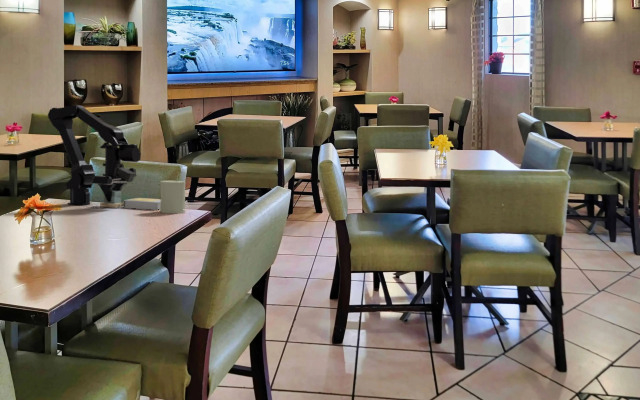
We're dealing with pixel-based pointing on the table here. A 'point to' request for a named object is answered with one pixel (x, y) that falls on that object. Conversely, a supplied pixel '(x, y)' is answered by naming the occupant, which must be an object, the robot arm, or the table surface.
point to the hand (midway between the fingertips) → (112, 201)
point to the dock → (143, 203)
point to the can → (172, 197)
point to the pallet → (113, 200)
